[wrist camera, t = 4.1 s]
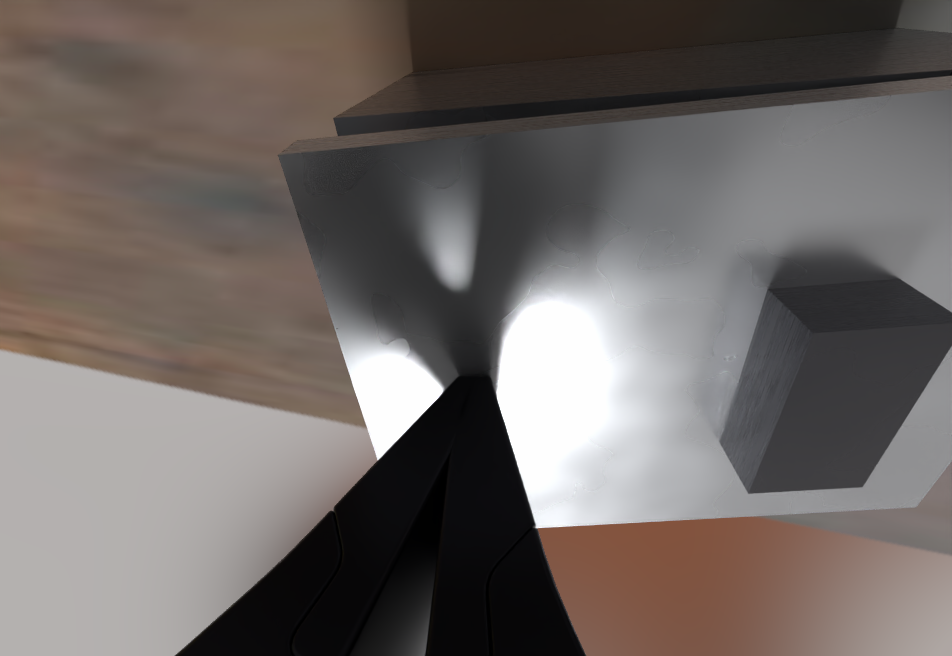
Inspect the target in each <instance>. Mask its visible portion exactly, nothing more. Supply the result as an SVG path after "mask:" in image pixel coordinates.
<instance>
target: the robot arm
mask: <svg viewBox="0 0 952 656" xmlns="http://www.w3.org/2000/svg"><path fill="white" fill-rule="evenodd" d="M175 656H586V654H585V652H584V650H583V648H582V645H581V643H580V641H579V639H578V637H577V634H576V632H575V630H574V628H573V625H572V623H571V621H570V619H569V616H568V613H567V611H566V609H565V606H564V604H563V602H562V599H561V597H560V594H559V592H558V589H557V587H556V584H555V582H554V578H553V575H552V573H551V570H550V567H549V564H548V561H547V558H546V555H545V552H544V549H543V546H542V542H541V539H540V536H539V532H538V529H537V528H536V523H535V520H534V517H533V513H532V510H531V507H530V503H529V500H528V497H527V493H526V490H525V487H524V484H523V480H522V477H521V474H520V470H519V467H518V464H517V460H516V457H515V454H514V451H513V447H512V444H511V441H510V437H509V434H508V431H507V428H506V424H505V421H504V418H503V414H502V411H501V408H500V404H499V401H498V398H497V395H496V391H495V388H494V385H493V381H492V379H491V377H490V376H474V375H460V376H458V377H457V378H456V379H455V380H454V381H453V382H452V383H451V384H450V385H449V386H448V387H447V388H446V389H445V390H444V391H443V392H442V393H441V394H440V395H439V397H438V398H437V399H436V400H435V401H434V402H433V403H432V404H431V405H430V406H429V407H428V408H427V409H426V410H425V411H424V412H423V413H422V414H421V416H420V417H419V418H418V419H417V420H416V421H415V422H414V423H413V424H412V425H411V426H410V427H409V428H408V429H407V430H406V431H405V432H404V433H403V435H402V436H401V437H400V438H399V439H398V440H397V441H396V442H395V443H394V444H393V445H392V446H391V447H390V448H389V449H388V450H387V451H386V452H385V454H384V455H383V456H382V457H381V458H380V459H379V460H378V461H377V462H376V463H375V464H374V465H373V466H372V467H371V468H370V469H369V470H368V471H367V473H366V474H365V475H364V476H363V477H362V478H361V479H360V480H359V481H358V482H357V483H356V484H355V486H353V487H352V488H351V489H350V490H349V492H348V493H347V494H346V495H345V496H344V497H343V498H342V499H341V500H340V501H339V502H338V503H337V504H336V505H335V507H334V511H330V512H328V513H327V515H326V516H325V517H324V518H323V519H322V520H321V521H320V522H319V523H318V524H317V525H316V526H315V527H314V528H313V529H312V530H311V531H310V532H309V533H308V534H307V535H306V536H305V537H304V538H303V539H302V540H301V541H300V542H299V543H298V544H297V545H296V547H295V548H293V549H292V550H291V551H290V552H289V553H288V554H287V555H286V556H285V557H284V558H283V559H282V560H281V561H280V562H279V563H278V564H277V565H276V566H275V567H273V569H271V570H270V571H269V572H268V573H267V574H266V575H265V576H264V577H263V578H262V579H261V580H260V581H258V582H257V583H256V584H255V585H254V586H253V587H252V588H251V589H250V590H248V591H247V592H246V593H245V594H244V595H243V596H242V597H241V598H239V599H238V600H237V601H236V602H235V603H234V604H233V605H232V606H231V607H229V608H228V609H227V610H226V611H225V612H224V613H223V614H221V615H220V616H219V617H218V618H217V619H216V620H215V621H213V622H212V623H211V624H210V625H209V626H208V627H207V628H206V629H204V630H203V631H202V632H201V633H200V634H199V635H198V636H197V637H196V638H194V639H193V640H192V641H191V642H190V643H189V644H188V645H186V646H185V647H184V648H183V649H182V650H181V651H180V652H179V653H177V654H176V655H175Z"/></svg>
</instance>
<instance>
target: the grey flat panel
mask: <svg viewBox="0 0 952 656" xmlns="http://www.w3.org/2000/svg"><path fill="white" fill-rule="evenodd" d="M278 157H279V160H280V163H281V166H282V169H283V172H284V175H285V178H286V181H287V184H288V187H289V190H290V193H291V196H292V199H293V202H294V205H295V208H296V212H297V215H298V218H299V221H300V224H301V227H302V230H303V233H304V236H305V239H306V242H307V245H308V248H309V251H310V254H311V257H312V260H313V264H314V267H315V270H316V273H317V276H318V279H319V282H320V285H321V288H322V291H323V294H324V297H325V300H326V303H327V306H328V309H329V312H330V316H331V319H332V322H333V325H334V328H335V331H336V334H337V337H338V340H339V343H340V346H341V349H342V352H343V355H344V358H345V361H346V364H347V368H348V371H349V374H350V377H351V380H352V383H353V386H354V389H355V392H356V395H357V398H358V401H359V404H360V407H361V410H362V413H363V416H364V420H365V423H366V426H367V429H368V432H369V435H370V438H371V441H372V444H373V447H374V450H375V453H376V456H377V459H378V460H379V459H380V458H381V457H382V456H383V455H384V454H385V452H386V451H387V450H388V449H389V448H390V447H391V446H392V445H393V444H394V443H395V442H396V441H397V440H398V439H399V438H400V437H401V436H402V435H403V433H404V432H405V431H406V430H407V429H408V428H409V427H410V426H411V425H412V424H413V423H414V422H415V421H416V420H417V419H418V418H419V417H420V416H421V414H422V413H423V412H424V411H425V410H426V409H427V408H428V407H429V406H430V405H431V404H432V403H433V402H434V401H435V400H436V399H437V398H438V397H439V395H440V394H441V393H442V392H443V391H444V390H445V389H446V388H447V387H448V386H449V385H450V384H451V383H452V382H453V381H454V380H455V379H456V378H457V377H458V376H460V375H474V376H490V377H491V379H492V381H493V385H494V388H495V391H496V395H497V398H498V401H499V404H500V408H501V411H502V414H503V418H504V421H505V424H506V428H507V431H508V434H509V437H510V441H511V444H512V447H513V451H514V454H515V457H516V460H517V464H518V467H519V470H520V474H521V477H522V480H523V484H524V487H525V490H526V493H527V497H528V500H529V503H530V507H531V510H532V513H533V517H534V520H535V523H536V528H546V527H564V526H581V525H601V524H618V523H637V522H654V521H672V520H692V519H708V518H728V517H746V516H765V515H783V514H801V513H820V512H838V511H856V510H875V509H893V508H911V507H917V505H918V504H919V503H920V501H921V500H922V499H923V498H924V496H925V495H926V494H927V492H928V491H929V490H930V488H931V487H932V486H933V485H934V483H935V482H936V481H937V479H938V478H939V477H940V475H941V474H942V473H943V472H944V470H945V469H946V468H947V466H948V465H949V464H950V462H951V461H952V76H943V77H933V78H923V79H913V80H903V81H893V82H883V83H872V84H862V85H852V86H842V87H832V88H822V89H812V90H802V91H791V92H781V93H771V94H761V95H751V96H741V97H731V98H721V99H710V100H700V101H690V102H680V103H670V104H660V105H650V106H640V107H629V108H619V109H609V110H599V111H589V112H579V113H569V114H559V115H548V116H538V117H528V118H518V119H508V120H498V121H488V122H478V123H467V124H457V125H447V126H437V127H427V128H417V129H407V130H397V131H386V132H376V133H366V134H356V135H346V136H336V137H326V138H316V139H305V140H297V141H296V142H294V143H293V144H292V145H290V146H289V147H288V148H286V149H285V150H284V151H282V152H281V153H280V154H279V155H278Z"/></svg>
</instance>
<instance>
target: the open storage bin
mask: <svg viewBox="0 0 952 656" xmlns="http://www.w3.org/2000/svg"><path fill="white" fill-rule="evenodd" d="M943 76H952V33H947V32H936V31H924V30H913V29H901V28H892V29H881V30H871V31H860V32H849V33H838V34H827V35H816V36H805V37H794V38H783V39H772V40H761V41H750V42H739V43H728V44H717V45H706V46H695V47H684V48H673V49H663V50H652V51H641V52H630V53H619V54H608V55H597V56H586V57H575V58H564V59H553V60H542V61H531V62H520V63H509V64H498V65H487V66H476V67H465V68H455V69H444V70H433V71H422V72H412V73H410V74H409V75H407V76H405V77H403V78H402V79H400V80H398V81H397V82H395V83H393V84H391V85H390V86H388V87H386V88H384V89H383V90H381V91H379V92H378V93H376V94H374V95H372V96H371V97H369V98H367V99H365V100H364V101H362V102H360V103H359V104H357V105H355V106H353V107H352V108H350V109H348V110H346V111H345V112H343V113H341V114H340V115H338V116H336V117H334V122H335V126H336V130H337V134H338V136H346V135H356V134H366V133H376V132H386V131H397V130H407V129H417V128H427V127H437V126H447V125H457V124H467V123H478V122H488V121H498V120H508V119H518V118H528V117H538V116H548V115H559V114H569V113H579V112H589V111H599V110H609V109H619V108H629V107H640V106H650V105H660V104H670V103H680V102H690V101H700V100H710V99H721V98H731V97H741V96H751V95H761V94H771V93H781V92H791V91H802V90H812V89H822V88H832V87H842V86H852V85H862V84H872V83H883V82H893V81H903V80H913V79H923V78H933V77H943Z"/></svg>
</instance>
